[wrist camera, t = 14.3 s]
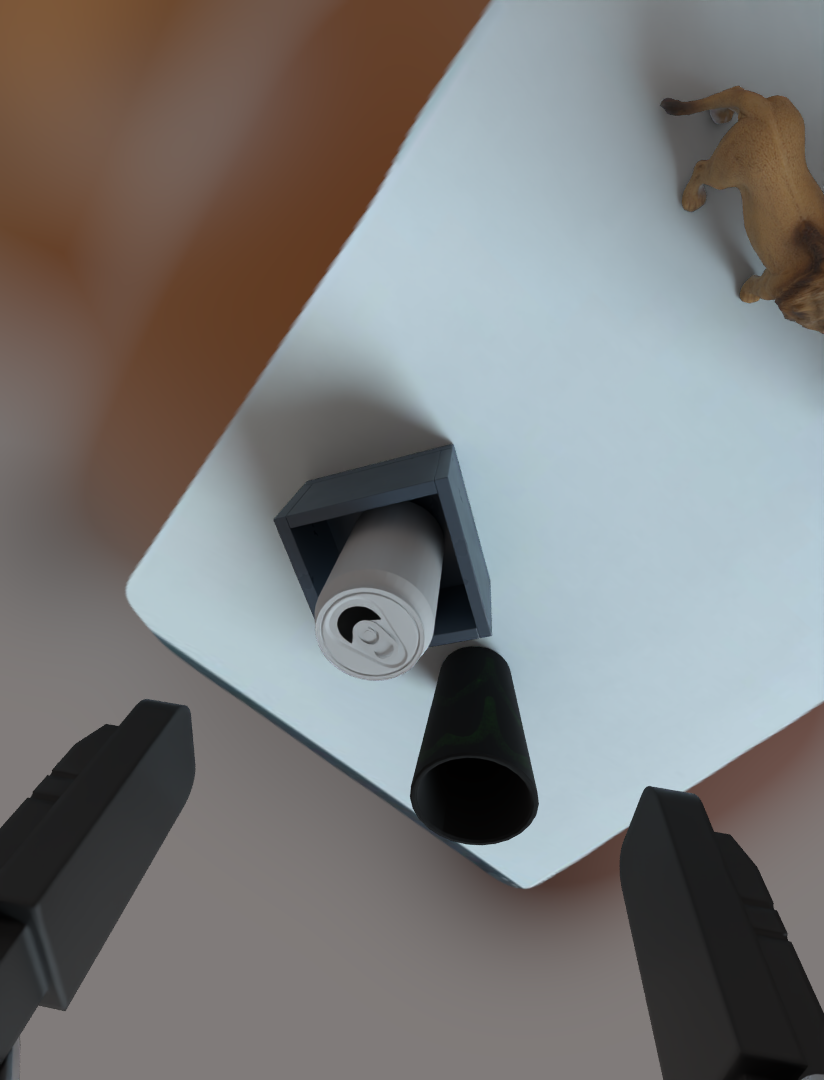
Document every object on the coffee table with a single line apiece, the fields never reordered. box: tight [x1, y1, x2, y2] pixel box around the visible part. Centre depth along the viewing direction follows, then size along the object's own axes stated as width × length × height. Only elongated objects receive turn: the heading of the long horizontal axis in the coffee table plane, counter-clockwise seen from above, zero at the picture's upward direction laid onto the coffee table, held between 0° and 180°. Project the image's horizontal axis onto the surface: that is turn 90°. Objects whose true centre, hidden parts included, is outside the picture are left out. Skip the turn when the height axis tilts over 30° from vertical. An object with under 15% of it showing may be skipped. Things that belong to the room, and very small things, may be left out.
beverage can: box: [315, 501, 445, 681], centre depth 34 cm, size 6×6×12 cm
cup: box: [410, 647, 539, 845], centre depth 39 cm, size 8×8×12 cm
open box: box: [274, 444, 492, 647], centre depth 37 cm, size 11×11×7 cm
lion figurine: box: [660, 86, 824, 334], centre depth 26 cm, size 15×5×9 cm, turn 47°
